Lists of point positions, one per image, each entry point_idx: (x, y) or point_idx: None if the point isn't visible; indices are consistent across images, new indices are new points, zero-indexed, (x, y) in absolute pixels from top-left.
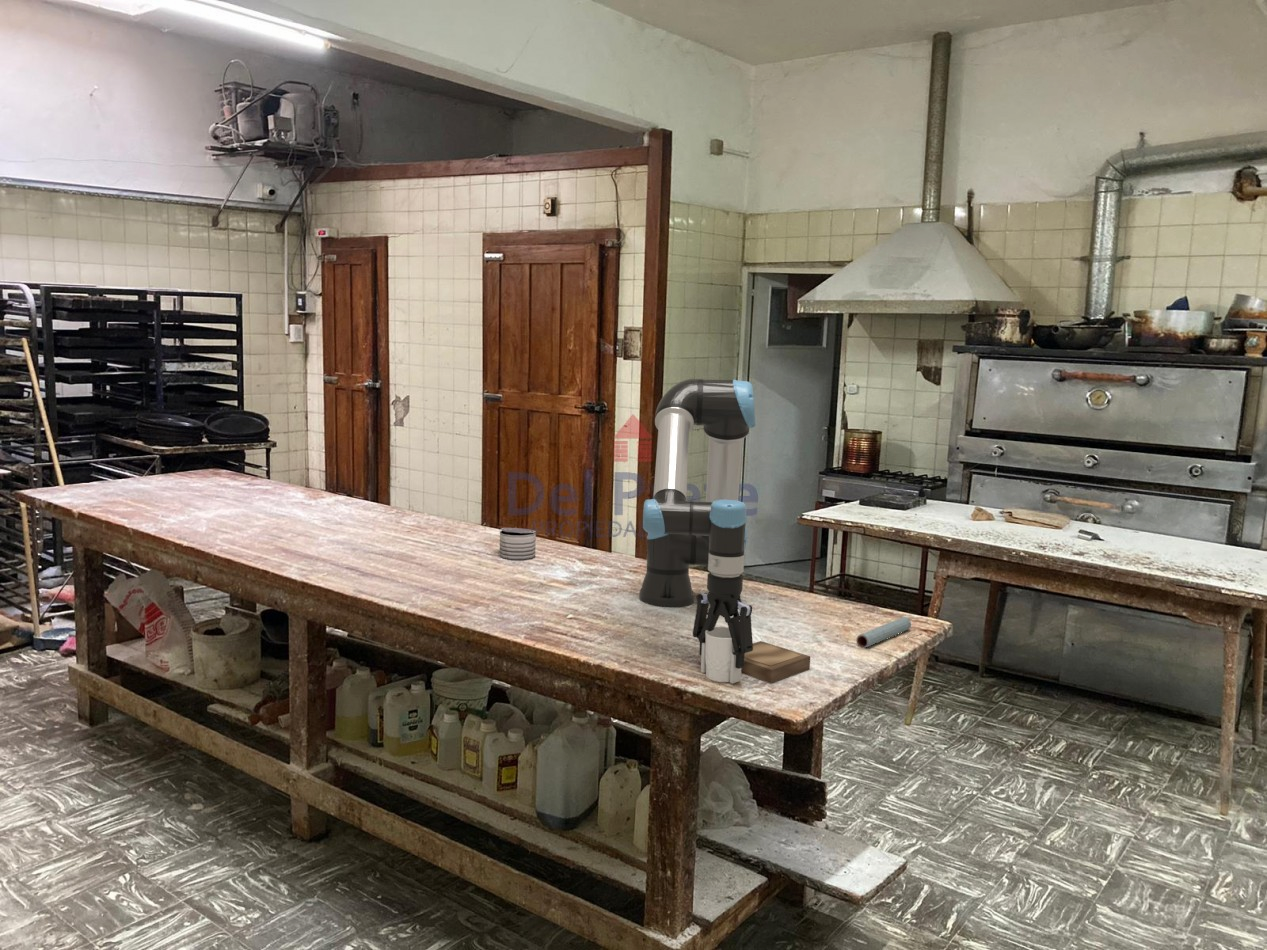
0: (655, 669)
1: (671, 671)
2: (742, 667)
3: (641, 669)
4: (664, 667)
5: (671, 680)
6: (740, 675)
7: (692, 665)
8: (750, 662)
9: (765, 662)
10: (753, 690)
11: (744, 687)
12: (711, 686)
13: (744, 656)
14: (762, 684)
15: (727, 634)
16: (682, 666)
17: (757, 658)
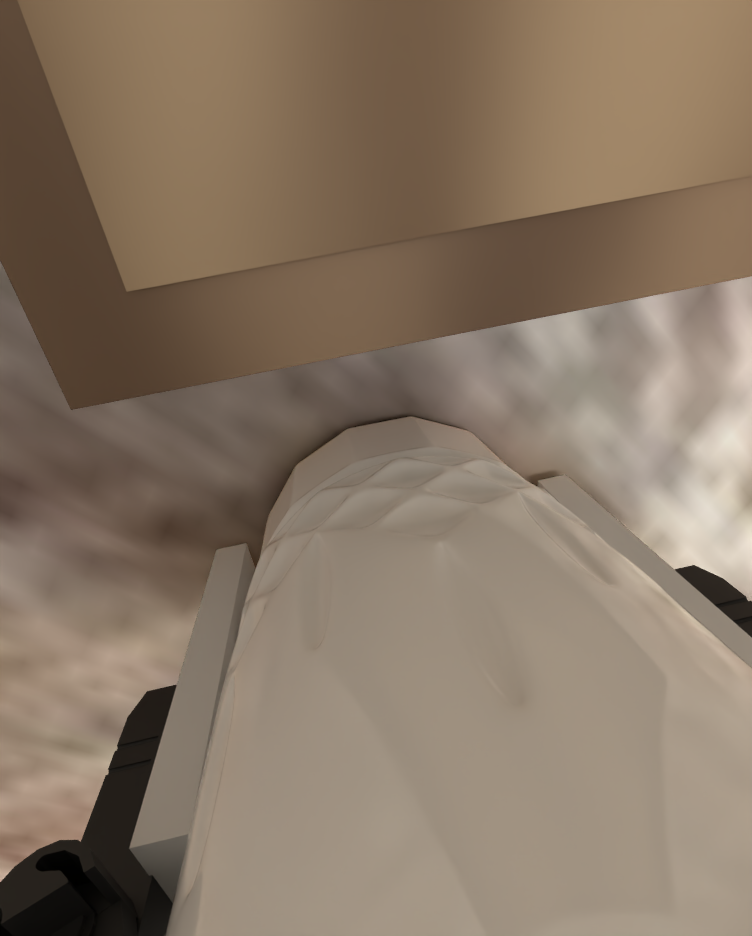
0: (46, 803)
1: None
2: (693, 573)
3: (22, 857)
4: (20, 753)
5: None
6: (591, 503)
7: (29, 580)
8: (569, 303)
9: (735, 107)
10: (716, 480)
11: (638, 500)
12: None
13: (363, 216)
14: (704, 335)
15: (333, 858)
16: (32, 653)
17: (543, 74)
